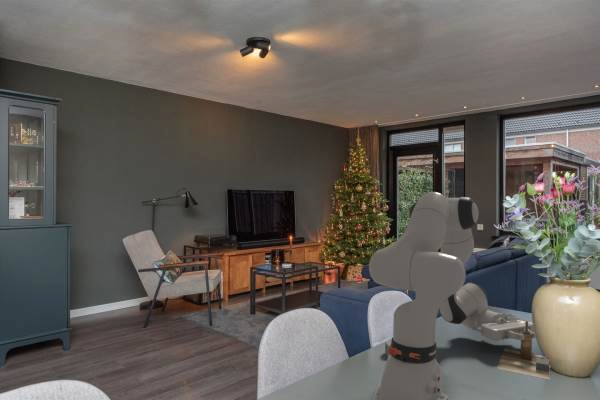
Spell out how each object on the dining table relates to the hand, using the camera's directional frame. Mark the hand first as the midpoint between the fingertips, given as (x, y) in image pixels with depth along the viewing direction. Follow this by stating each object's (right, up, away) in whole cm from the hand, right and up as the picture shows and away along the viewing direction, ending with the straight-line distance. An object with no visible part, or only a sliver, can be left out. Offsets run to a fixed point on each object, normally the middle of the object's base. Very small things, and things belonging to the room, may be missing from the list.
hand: (528, 337), depth 139 cm
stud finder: (+1, -7, -7) cm, 10 cm away
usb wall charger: (-43, -8, +4) cm, 43 cm away
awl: (0, -7, +1) cm, 7 cm away
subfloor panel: (-3, -8, -3) cm, 9 cm away
